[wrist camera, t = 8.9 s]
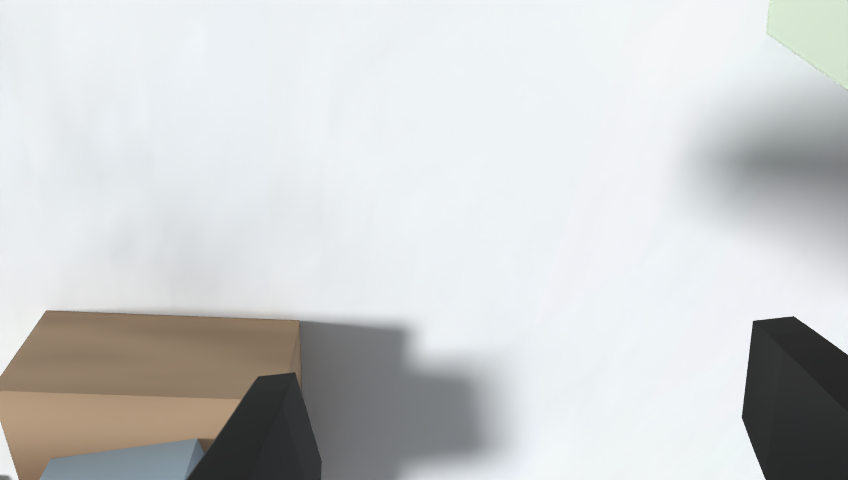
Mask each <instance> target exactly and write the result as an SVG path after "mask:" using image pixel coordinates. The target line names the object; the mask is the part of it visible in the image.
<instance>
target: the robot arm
mask: <svg viewBox="0 0 848 480" xmlns="http://www.w3.org/2000/svg"><path fill="white" fill-rule="evenodd" d="M742 419H743V422H744V425H745V427H746V430H747V433H748V436H749V438H750V441H751V444H752V446H753V449H754V452H755V454H756V457H757V459H758V462H759V464H760V467H761V469H762V472H763V474H764V477H765V479H766V480H848V355H847V354H846V353H844V352H843V351H842V350H840V349H839V348H837V347H836V346H835V345H833V344H832V343H831V342H829V341H828V340H826V339H825V338H824V337H822V336H821V335H819V334H818V333H817V332H815V331H814V330H812V329H811V328H810V327H808V326H807V325H805V324H804V323H802V322H801V321H800V320H798V319H797V318H795V317H794V316H793V317H784V318H775V319H766V320H757V321H753V326H752V335H751V343H750V352H749V361H748V369H747V378H746V386H745V395H744V404H743V412H742ZM186 480H321V458H320V455H319V452H318V448H317V445H316V441H315V438H314V434H313V431H312V428H311V424H310V421H309V417H308V414H307V410H306V407H305V404H304V400H303V397H302V393H301V390H300V386H299V383H298V380H297V376H296V373H295V372H293V373H284V374H275V375H266V376H258V377H257V379H256V380H255V381H254V382H253V383H252V385H251V386H250V388H249V389H248V391H247V392H246V394H245V395H244V397H243V398H242V400H241V401H240V403H239V404H238V406H237V407H236V409H235V410H234V412H233V413H232V415H231V416H230V418H229V419H228V421H227V422H226V424H225V425H224V427H223V428H222V429H221V431H220V432H219V434H218V435H217V437H216V438H215V440H214V441H213V443H212V444H211V445H210V447H209V448H208V450H207V451H206V452H205V454H204V455H203V456H202V458H201V459H200V461H199V462H198V463H197V465H196V466H195V468H194V469H193V470H192V472H191V473H190V474H189V476H188V477H187V479H186Z"/></svg>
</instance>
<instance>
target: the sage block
mask: <svg viewBox="0 0 848 480" xmlns="http://www.w3.org/2000/svg"><path fill="white" fill-rule="evenodd" d="M766 34H768V35H769V36H771V37H772V38H774V39H775V40H776V41H778V42H779V43H781V44H782V45H784V46H785V47H786V48H788V49H789V50H791V51H792V52H794V53H795V54H796V55H798V56H799V57H801V58H802V59H803V60H805V61H806V62H808V63H809V64H811V65H812V66H813V67H815V68H816V69H818V70H819V71H821V72H822V73H823V74H825V75H826V76H828V77H829V78H831V79H832V80H833V81H835V82H836V83H838V84H839V85H840V86H842V87H843V88H845V89H846V90H848V0H770V2H769V12H768V21H767V30H766Z"/></svg>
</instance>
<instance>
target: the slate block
mask: <svg viewBox="0 0 848 480" xmlns="http://www.w3.org/2000/svg"><path fill="white" fill-rule="evenodd" d="M203 455H204V452H203V449H202V447H201V445H200V443H199V441H198V439H197V438H196V439H189V440H182V441H175V442H167V443H160V444H153V445H146V446H139V447H131V448H124V449H117V450H110V451H103V452H96V453H89V454H82V455H75V456H68V457H61V458H54V459H50V461H49V463H48V464H47V466H46V468H45V470H44V472H43V474H42V476H41V478H40V479H39V480H186V479H187V477H188V476H189V474H190V473H191V472H192V470H193V469H194V468H195V466H196V465H197V463H198V462H199V461H200V459H201V458H202V456H203Z"/></svg>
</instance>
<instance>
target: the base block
mask: <svg viewBox="0 0 848 480" xmlns="http://www.w3.org/2000/svg"><path fill="white" fill-rule="evenodd" d="M293 372H295V373H296V376H297V380H298V383H299V386H300V390H301V393H302V379H301V348H300V321H299V320H274V319H248V318H223V317H197V316H172V315H146V314H120V313H95V312H69V311H46V312H45V313H44V314H43V316H42V317H41V319H40V320H39V322H38V323H37V325H36V326H35V327H34V329H33V330H32V332H31V333H30V335H29V336H28V337H27V339H26V340H25V342H24V343H23V345H22V346H21V348H20V349H19V350H18V352H17V353H16V355H15V356H14V358H13V359H12V360H11V362H10V363H9V365H8V366H7V368H6V369H5V371H4V372H3V373H2V375H1V376H0V422H1V425H2V428H3V431H4V434H5V437H6V440H7V443H8V447H9V450H10V453H11V456H12V459H13V462H14V465H15V469H16V472H17V475H18V478H19V480H39V479H40V478H41V476H42V474H43V472H44V470H45V468H46V466H47V464H48V463H49V461H50V459H54V458H61V457H68V456H75V455H82V454H89V453H96V452H103V451H110V450H117V449H124V448H131V447H139V446H146V445H153V444H160V443H167V442H175V441H182V440H189V439H196V438H197V439H198V441H199V443H200V445H201V447H202V449H203V452H204V454H205V452H206V451H207V450H208V448H209V447H210V445H211V444H212V443H213V441H214V440H215V438H216V437H217V435H218V434H219V432H220V431H221V429H222V428H223V427H224V425H225V424H226V422H227V421H228V419H229V418H230V416H231V415H232V413H233V412H234V410H235V409H236V407H237V406H238V404H239V403H240V401H241V400H242V398H243V397H244V395H245V394H246V392H247V391H248V389H249V388H250V386H251V385H252V383H253V382H254V381H255V380H256V379H257V377H258V376H266V375H275V374H284V373H293Z"/></svg>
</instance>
